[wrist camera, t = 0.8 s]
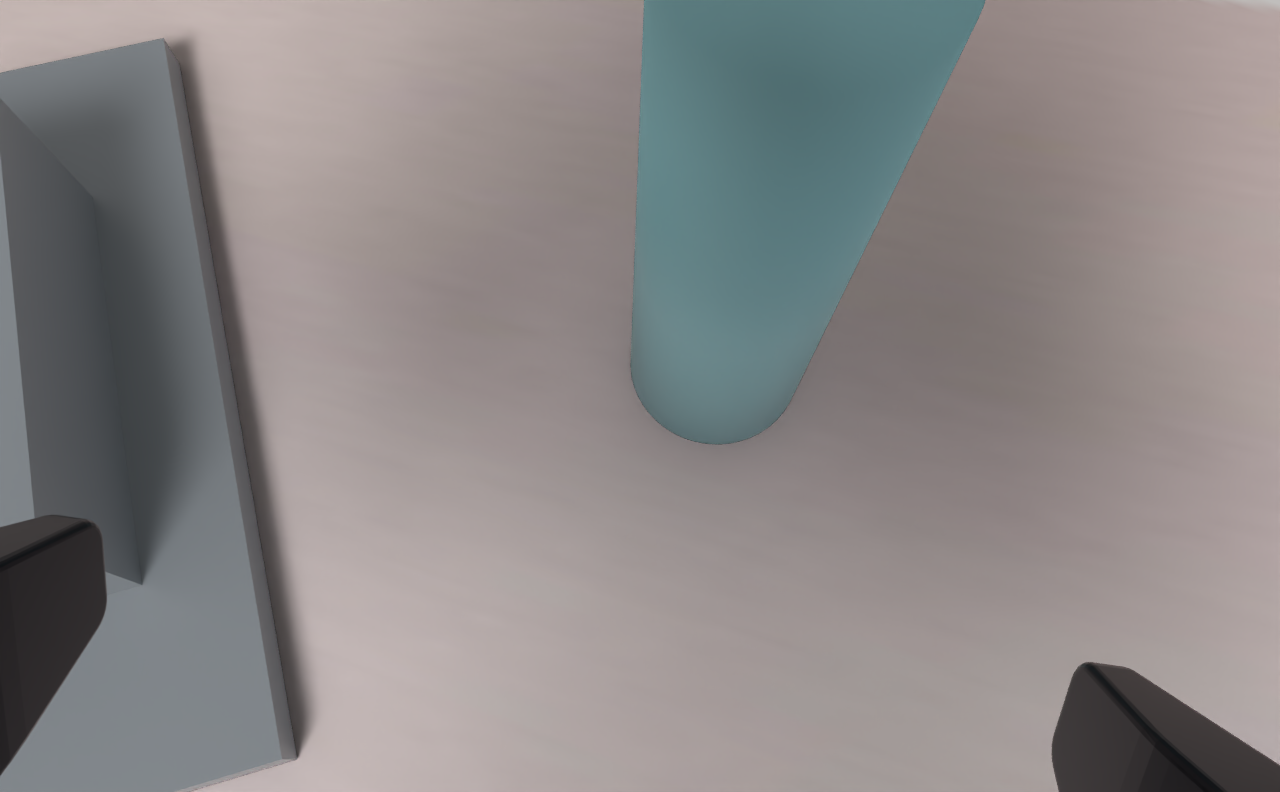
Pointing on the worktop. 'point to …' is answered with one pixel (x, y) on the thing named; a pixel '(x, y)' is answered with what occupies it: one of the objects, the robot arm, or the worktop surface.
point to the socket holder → (131, 432)
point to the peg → (766, 186)
